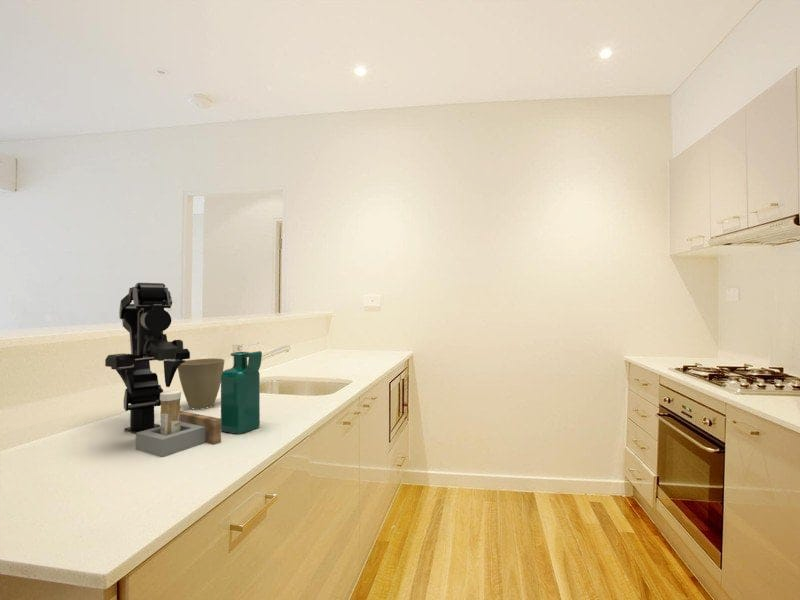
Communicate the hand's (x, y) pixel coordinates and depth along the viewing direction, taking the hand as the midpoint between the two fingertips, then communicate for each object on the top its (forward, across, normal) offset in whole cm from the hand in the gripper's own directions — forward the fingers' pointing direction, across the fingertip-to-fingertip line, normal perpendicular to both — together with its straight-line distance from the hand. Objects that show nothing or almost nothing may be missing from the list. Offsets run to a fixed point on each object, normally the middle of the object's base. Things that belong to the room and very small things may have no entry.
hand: (150, 390), depth 104 cm
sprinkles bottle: (+13, 0, -9) cm, 16 cm away
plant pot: (+13, +28, +20) cm, 37 cm away
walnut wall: (+13, +6, -9) cm, 17 cm away
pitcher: (+13, +18, -14) cm, 26 cm away
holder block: (+13, 0, -9) cm, 16 cm away
